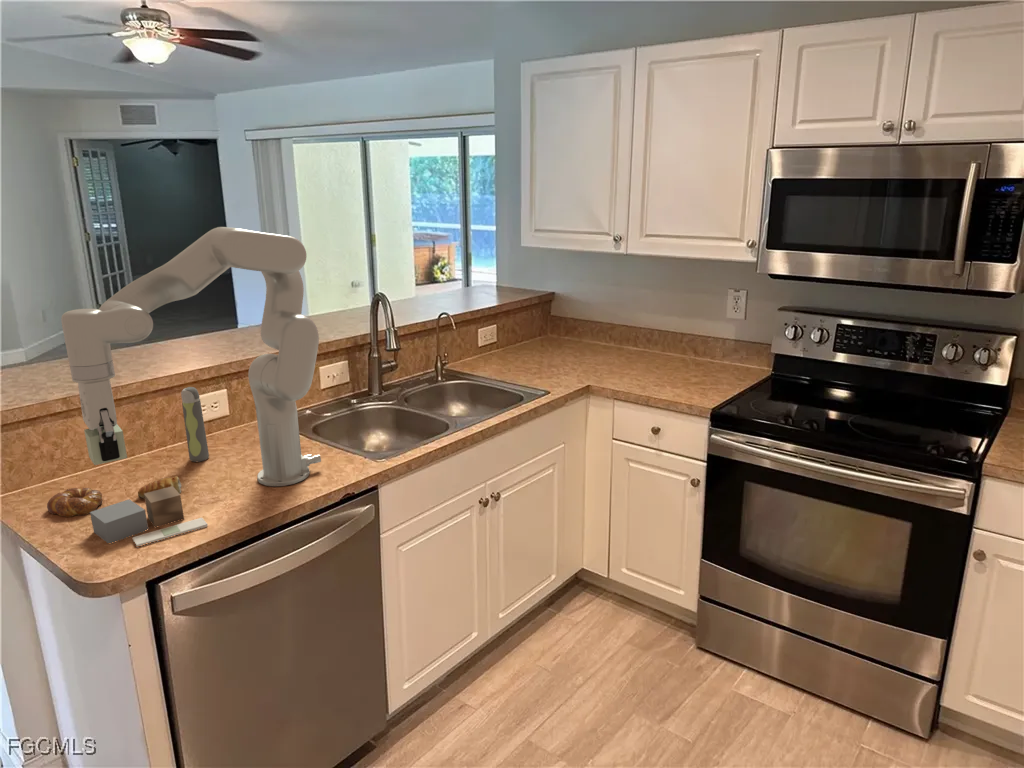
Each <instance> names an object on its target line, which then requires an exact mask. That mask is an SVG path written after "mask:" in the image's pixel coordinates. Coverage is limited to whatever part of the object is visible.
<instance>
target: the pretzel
mask: <svg viewBox="0 0 1024 768" xmlns="http://www.w3.org/2000/svg"><path fill="white" fill-rule="evenodd" d="M102 504H103V493H102V491H100V490H97V489H93V488H89V487H82V488H79V487H73V488H68V489H66V490H63V491H62V492H58V493H55V494H54V495H53V496H51V498H50V499H49V500H48V502H47V504H46V505H47V506H46V508H47V511H48V512H49V513H50V514H52V515H59V516H60V517H67V518H69V517H75V516H78V515H79V516H85V515H88V514H90V512H92V511H95V510H98V507H100V506H101V505H102Z"/></svg>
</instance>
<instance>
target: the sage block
mask: <svg viewBox="0 0 1024 768" xmlns="http://www.w3.org/2000/svg"><path fill="white" fill-rule="evenodd" d="M101 427H104V426H101ZM113 427H114V432H115V436H116V439H117V443H118V449H119V455H120V457H119V458H117V459H113V460H108V461H102V458H101V453H100V447H99V442H100V438H99V434H98V430H97V429H94V431H92V430H90V429H89V428H87V429H84V430H83V432H84V436H85V441H86V447H87V453H88V457H89V459H90V460H91V462H92V464H93V465H94V466H97V465H102V464H103V465H104V464H107V463H111V462H116V461H120V460H121V461H122V460H125V459H128V455H127V449H126V443H125V438H124V437H125V436H124V431H123V430H122V428H121V427H120V426H119V424H118V423H117V424H116V425H115V426H113ZM103 432H105V431H104V430H102V434H103Z"/></svg>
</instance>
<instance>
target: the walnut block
mask: <svg viewBox="0 0 1024 768" xmlns="http://www.w3.org/2000/svg"><path fill="white" fill-rule="evenodd" d="M144 497H145V499H144V501H145V506H146V514H147V518H148V519H149V521H150V522H152V523H151V524H152V525H153V527H154V528H155V527H156V528H158V527H157V526H159V527H163V526H166V525H169V524H172V523H171V522H173V523H175V522H174V521H176V522H179V521H178V520H180V521H182V520H181V519H183V520H185V516H184V515H185V514H184V509H183V504H182V497H181V493H180V494H179V493H178V492H177V490H176V489H175V488H174V487H173V486H171V487H167V488H164V489H160V490H156V491H152V492H148V493H144ZM168 523H169V524H168ZM165 524H166V525H165ZM162 525H163V526H162Z"/></svg>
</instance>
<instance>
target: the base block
mask: <svg viewBox="0 0 1024 768" xmlns="http://www.w3.org/2000/svg"><path fill="white" fill-rule="evenodd" d="M146 514H147V512H146V509H144V508H143V507H141V506H140V505H139V504H138V503H136V502H134V501H133V500H131V499H126V500H122V501H119V502H117V503H114V504H110V505H108V506H104V507H102V508H97V509H96V510H94V511H92V512H90V513H89V515H90V519H91V524H92V531H93V533H94V534H95V535H97V536H98V537H99V538H100V539H102V540H103V541H104V542H105V541H106V542H105V543H106V544H108V543H111V544H113V543H112V542H114V543H116V542H115V541H117V542H119V541H122V540H125V539H127V538H126V537H128V538H130V537H133V536H136V535H139V534H141V533H144V532H146V531H145V530H147V529H148V530H149V525H148V519H147V518H148V517H147V515H146ZM148 530H147V531H148ZM143 531H144V532H143ZM140 532H141V533H140ZM138 533H139V534H138ZM135 534H136V535H135ZM132 535H133V536H132ZM129 536H130V537H129ZM124 538H125V539H124ZM121 539H122V540H121ZM118 540H119V541H118Z"/></svg>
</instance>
